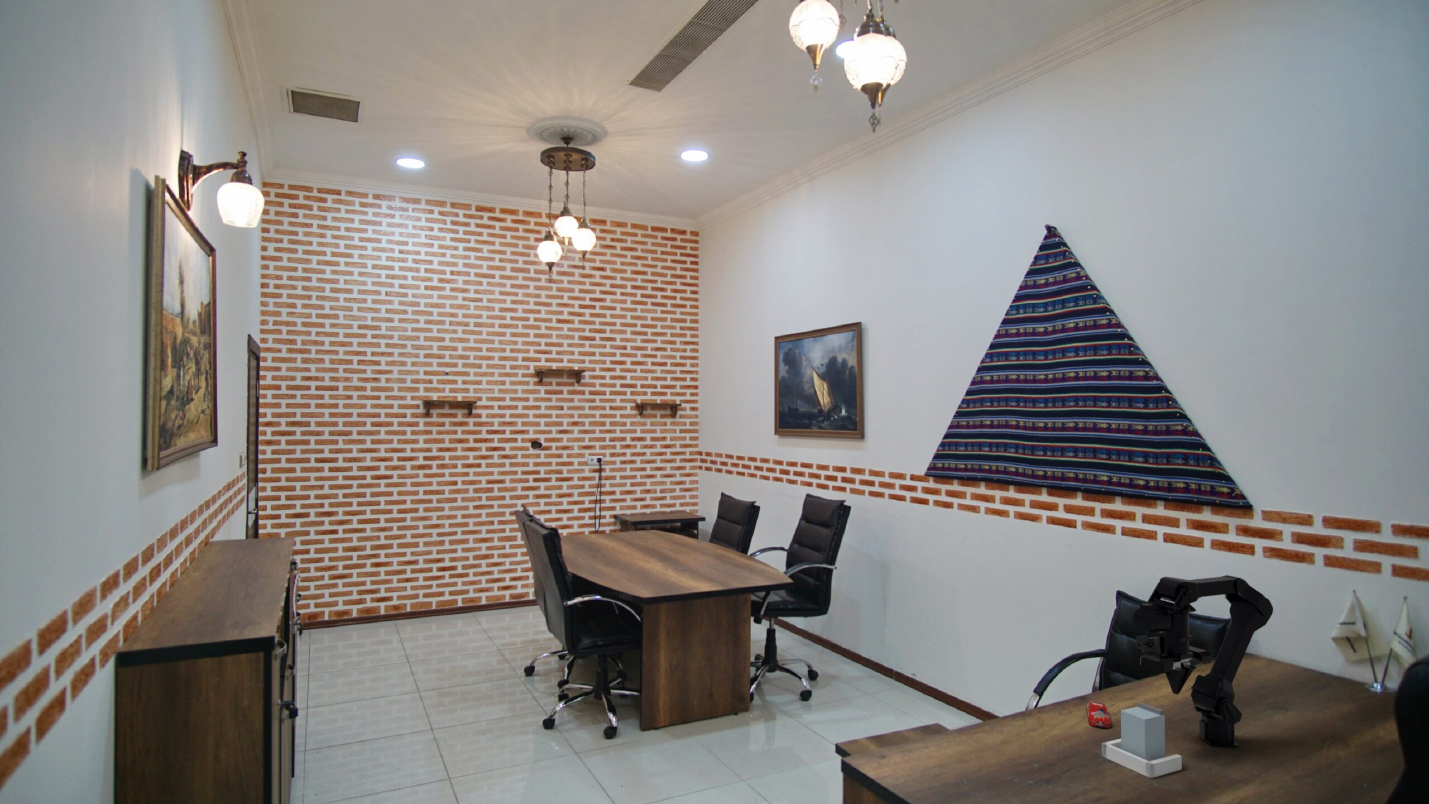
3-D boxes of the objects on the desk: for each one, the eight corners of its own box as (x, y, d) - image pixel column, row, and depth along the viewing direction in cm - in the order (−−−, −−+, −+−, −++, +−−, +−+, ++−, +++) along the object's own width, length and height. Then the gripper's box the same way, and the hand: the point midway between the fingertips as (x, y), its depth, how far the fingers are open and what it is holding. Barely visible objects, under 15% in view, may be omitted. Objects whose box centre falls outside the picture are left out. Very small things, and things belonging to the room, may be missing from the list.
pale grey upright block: (1141, 753, 182) (1140, 701, 182) (1165, 763, 176) (1164, 710, 177) (1121, 758, 179) (1120, 706, 179) (1145, 769, 173) (1144, 715, 174)
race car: (1111, 731, 196) (1111, 716, 196) (1088, 728, 198) (1088, 713, 198) (1107, 713, 208) (1107, 699, 208) (1085, 710, 210) (1085, 696, 210)
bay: (1131, 748, 185) (1131, 735, 185) (1181, 769, 174) (1181, 756, 174) (1101, 756, 181) (1101, 743, 181) (1150, 778, 170) (1150, 764, 170)
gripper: (1168, 618, 198) (1168, 678, 198) (1120, 625, 190) (1120, 688, 190) (1211, 629, 188) (1212, 692, 188) (1162, 637, 180) (1163, 703, 180)
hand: (1175, 693), depth 186 cm, fingers closed
